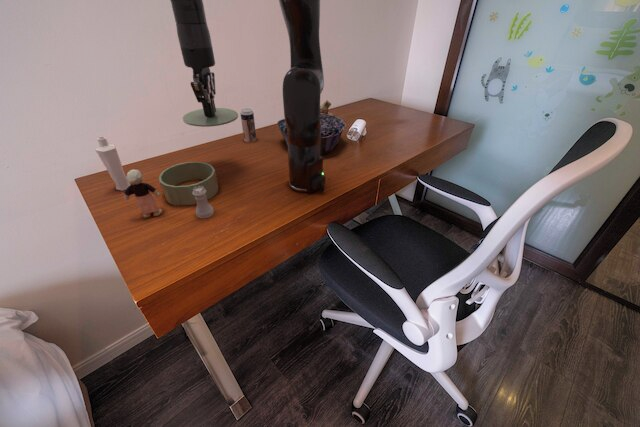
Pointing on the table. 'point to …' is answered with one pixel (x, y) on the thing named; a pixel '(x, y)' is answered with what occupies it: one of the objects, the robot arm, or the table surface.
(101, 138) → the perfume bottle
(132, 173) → the grandmother figurine
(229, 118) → the pot lid
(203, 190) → the rook chess piece
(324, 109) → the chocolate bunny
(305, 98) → the robot arm
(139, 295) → the table surface
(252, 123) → the beer can
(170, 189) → the pot
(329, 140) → the decorative bowl
